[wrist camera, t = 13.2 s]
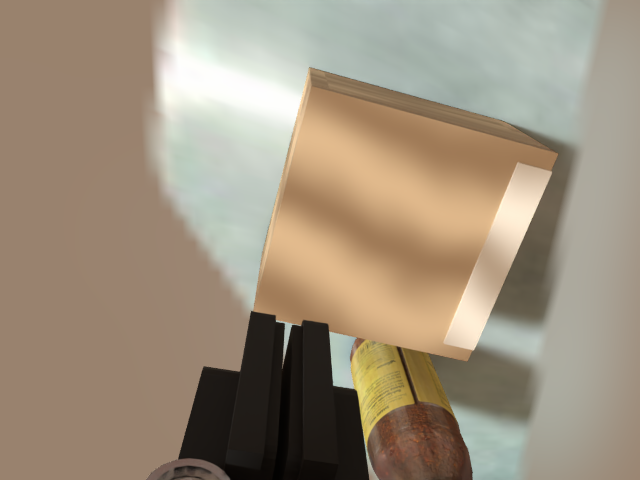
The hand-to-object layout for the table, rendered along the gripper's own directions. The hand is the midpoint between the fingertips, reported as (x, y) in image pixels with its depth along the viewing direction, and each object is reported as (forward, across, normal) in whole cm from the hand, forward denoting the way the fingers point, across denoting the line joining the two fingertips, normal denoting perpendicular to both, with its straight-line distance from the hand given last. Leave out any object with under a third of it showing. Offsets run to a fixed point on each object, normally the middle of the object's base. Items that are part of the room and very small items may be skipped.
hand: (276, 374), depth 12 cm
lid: (+21, -7, +4) cm, 22 cm away
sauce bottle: (+29, -11, +18) cm, 36 cm away
